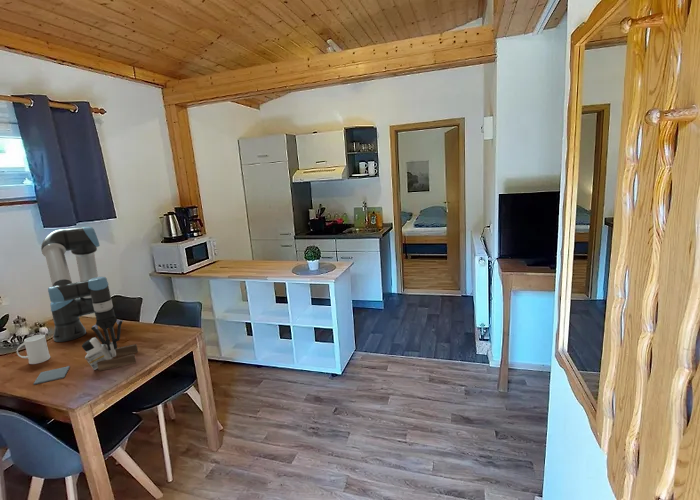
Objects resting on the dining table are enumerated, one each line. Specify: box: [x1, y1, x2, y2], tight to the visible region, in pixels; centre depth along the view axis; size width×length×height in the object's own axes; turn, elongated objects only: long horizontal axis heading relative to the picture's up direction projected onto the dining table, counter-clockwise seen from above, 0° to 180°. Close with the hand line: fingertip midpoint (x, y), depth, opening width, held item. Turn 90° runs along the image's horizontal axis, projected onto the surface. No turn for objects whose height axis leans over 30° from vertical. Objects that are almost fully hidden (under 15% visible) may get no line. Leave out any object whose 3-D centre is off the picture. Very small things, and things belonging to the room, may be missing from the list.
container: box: [81, 337, 114, 371], centre depth 176 cm, size 8×8×13 cm
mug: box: [16, 334, 51, 365], centre depth 185 cm, size 12×8×12 cm
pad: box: [33, 365, 71, 386], centre depth 170 cm, size 11×11×1 cm
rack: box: [97, 343, 139, 372], centre depth 181 cm, size 14×15×4 cm
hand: (114, 355), depth 180 cm, fingers closed
